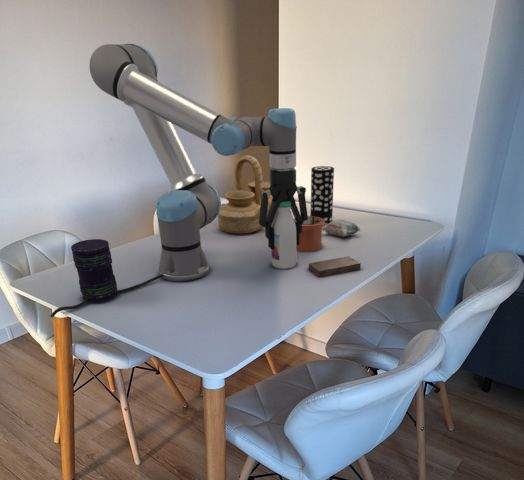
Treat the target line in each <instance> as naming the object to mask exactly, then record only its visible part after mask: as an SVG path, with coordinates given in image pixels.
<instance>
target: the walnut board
mask: <svg viewBox="0 0 524 480" xmlns="http://www.w3.org/2000/svg"><path fill="white" fill-rule="evenodd" d="M361 267H362V263H361V262H360V261H358V260H357V259H355V258H353V257H351V256H350V255H348V256H342V257H336V258H331V259H325V260H320V261H315V262H309V263H308V271H310V272H311V273H313V274H314V275H315V276H317V278H324V277H328V276H334V275H339V274H344V273H350V272H355V271H359V270H361Z"/></svg>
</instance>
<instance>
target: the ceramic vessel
mask: <svg viewBox="0 0 524 480" xmlns="http://www.w3.org/2000/svg"><path fill="white" fill-rule="evenodd" d="M245 163H248V164H249V165H250V166H251V168H252V170H253V174H254V175H253V176H254V181H250V182H248V184H247V187H248V189H249V190H245V187H244V180H243V166H244V164H245ZM234 179H235V189H236V190H232V191H228V192H226V193H225V194H224V198H225V199H226V200H227V201H228V202H227V203H221V209H220V212H219V214H218V216H217V225H218V228H219V229H220V230H221V231H223V232H225V233H230V234H251V233H253V232H258V231H260V230H261V229H262V228H263V227H262V226H261V225H260V224H259V217H260V208H261V195H260V192H261V191H267V190H269V188H270V181H264V177H263V170H262V166H261V165H260V162H259V161H258V160H257V158H255V157H254V156H252V155H243V156H241V157H239V158H238V159H237V161H236V163H235V166H234ZM272 198H273V197H272V195H271V194H270V195H269V198H268V209H267V215H268V212H269V209H270V206H271V201H272ZM275 215H276V214H275ZM274 218H275V217H274Z"/></svg>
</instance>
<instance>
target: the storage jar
mask: <svg viewBox="0 0 524 480" xmlns="http://www.w3.org/2000/svg"><path fill="white" fill-rule="evenodd" d="M109 243H110V242H109V241H108V240H106V239H103V238H102V239H101V238H93V239H84V240H80V241H78V242H74V243H73V244H72V245H71V246H70V249H71V254H72V260H73V263H74V267H75V268H76V271H77V276H78V284H79V290H80V293H81V295H82V300H83V301H85V300H86V299H88V302H87V303H86V304H92V305H93V304H94V305H95V304H103V303H108V302H111V301H113V300H115V299H117V297H119V293H118V292H117V290H118V284H117V280H116V275H115V274H114V270H113V259H112V252H111V248H110V247H109V246H110V244H109Z"/></svg>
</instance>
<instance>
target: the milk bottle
mask: <svg viewBox="0 0 524 480" xmlns="http://www.w3.org/2000/svg"><path fill="white" fill-rule="evenodd" d="M271 227H273V228H274V249H271V248H270V250H271V265H272V267H273V268H276V269H281V270H282V269H285V270H287V269H291V268H294V267H296V265H297V250H296V225H295V222H294V216H293V213H292V210H291V201H283V202H280V205H279V206H278V209H277V211H276V215H275V218H274V220H273V223H272V226H271Z"/></svg>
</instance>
